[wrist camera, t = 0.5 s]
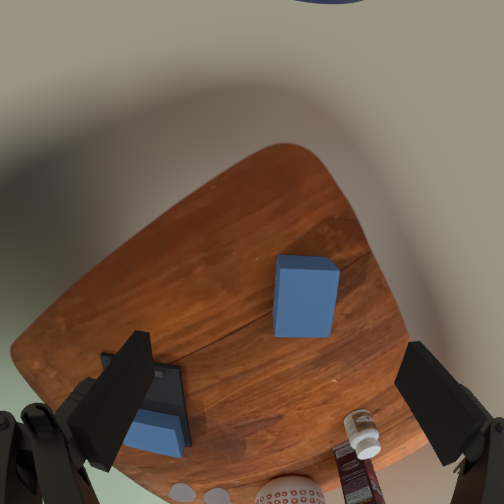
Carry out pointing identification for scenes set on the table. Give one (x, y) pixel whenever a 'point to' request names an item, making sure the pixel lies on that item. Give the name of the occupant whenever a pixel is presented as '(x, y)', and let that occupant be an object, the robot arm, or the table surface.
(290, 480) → the white patterned vase
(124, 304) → the table surface
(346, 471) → the supplement box
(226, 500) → the sunglasses
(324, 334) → the blue block
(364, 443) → the pill bottle
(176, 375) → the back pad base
